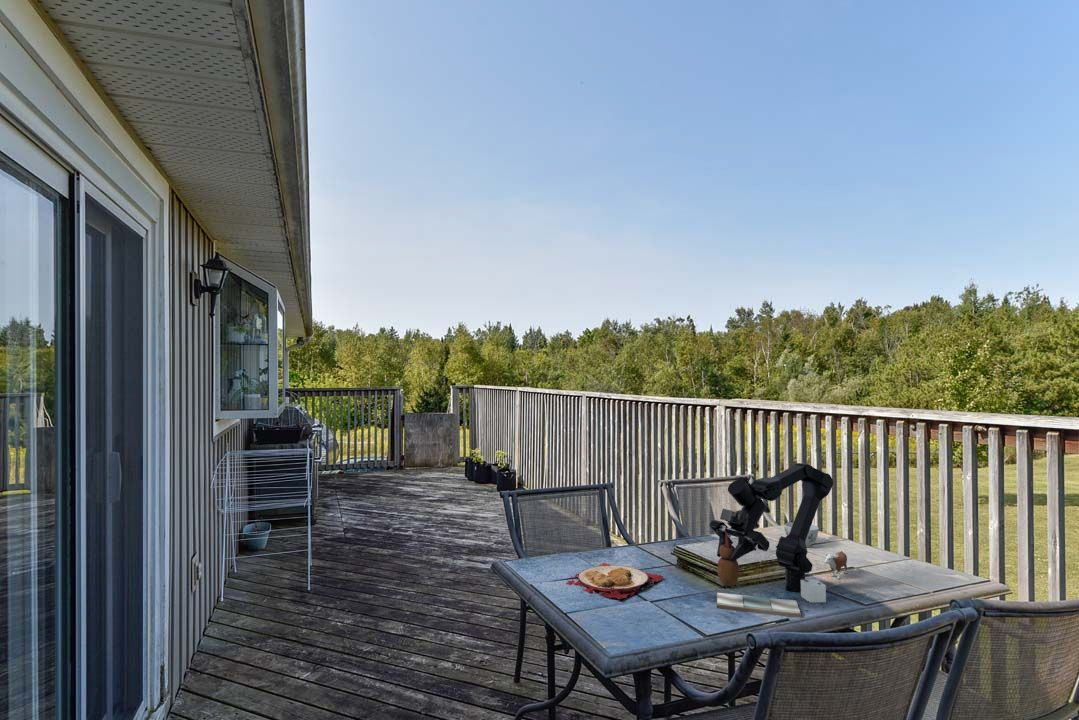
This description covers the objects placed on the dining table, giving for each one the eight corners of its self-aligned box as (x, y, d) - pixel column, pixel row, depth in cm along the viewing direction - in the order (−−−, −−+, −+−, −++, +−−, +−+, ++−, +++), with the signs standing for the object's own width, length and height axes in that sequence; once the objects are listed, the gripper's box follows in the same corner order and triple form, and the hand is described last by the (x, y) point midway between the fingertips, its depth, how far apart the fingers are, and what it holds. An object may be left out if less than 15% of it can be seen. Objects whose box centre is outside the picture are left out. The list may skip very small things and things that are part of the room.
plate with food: (664, 582, 189) (664, 571, 189) (620, 602, 169) (620, 590, 169) (603, 567, 205) (603, 557, 205) (556, 585, 185) (556, 573, 185)
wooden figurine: (721, 578, 171) (719, 528, 172) (741, 581, 168) (739, 530, 169) (715, 585, 166) (714, 533, 166) (736, 589, 163) (734, 536, 163)
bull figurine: (822, 578, 189) (821, 554, 190) (838, 570, 198) (837, 546, 198) (835, 582, 186) (835, 557, 186) (851, 573, 195) (851, 549, 195)
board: (716, 595, 174) (716, 591, 174) (796, 604, 167) (796, 599, 167) (716, 608, 164) (716, 603, 165) (801, 617, 158) (801, 612, 158)
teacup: (826, 548, 225) (826, 527, 225) (801, 551, 220) (801, 530, 221) (797, 538, 239) (796, 519, 239) (773, 541, 234) (773, 521, 235)
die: (801, 596, 174) (800, 579, 174) (816, 596, 174) (816, 579, 174) (809, 602, 169) (809, 585, 169) (826, 602, 169) (825, 584, 169)
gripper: (712, 493, 178) (686, 534, 172) (761, 504, 161) (734, 550, 156) (731, 515, 181) (706, 556, 176) (781, 528, 165) (755, 574, 159)
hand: (724, 558), depth 167 cm, fingers closed on wooden figurine, 5 cm apart
